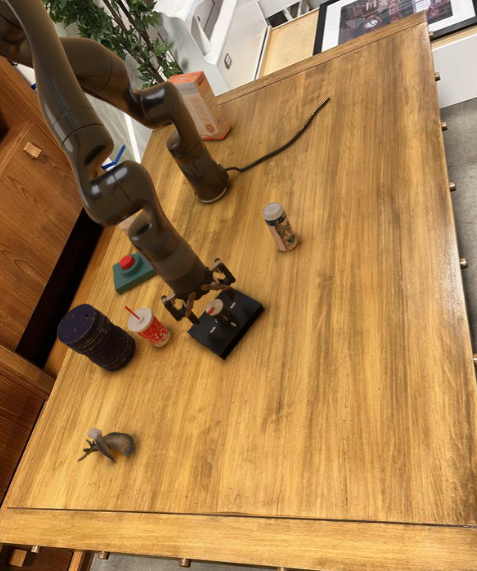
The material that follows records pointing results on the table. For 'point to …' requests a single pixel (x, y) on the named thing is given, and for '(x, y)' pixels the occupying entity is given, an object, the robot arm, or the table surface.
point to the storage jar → (96, 338)
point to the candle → (127, 224)
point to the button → (127, 262)
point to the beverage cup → (148, 326)
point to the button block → (132, 273)
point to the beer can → (279, 226)
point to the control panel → (230, 334)
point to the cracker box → (202, 104)
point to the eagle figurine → (109, 444)
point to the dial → (218, 312)
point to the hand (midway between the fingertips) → (214, 309)
